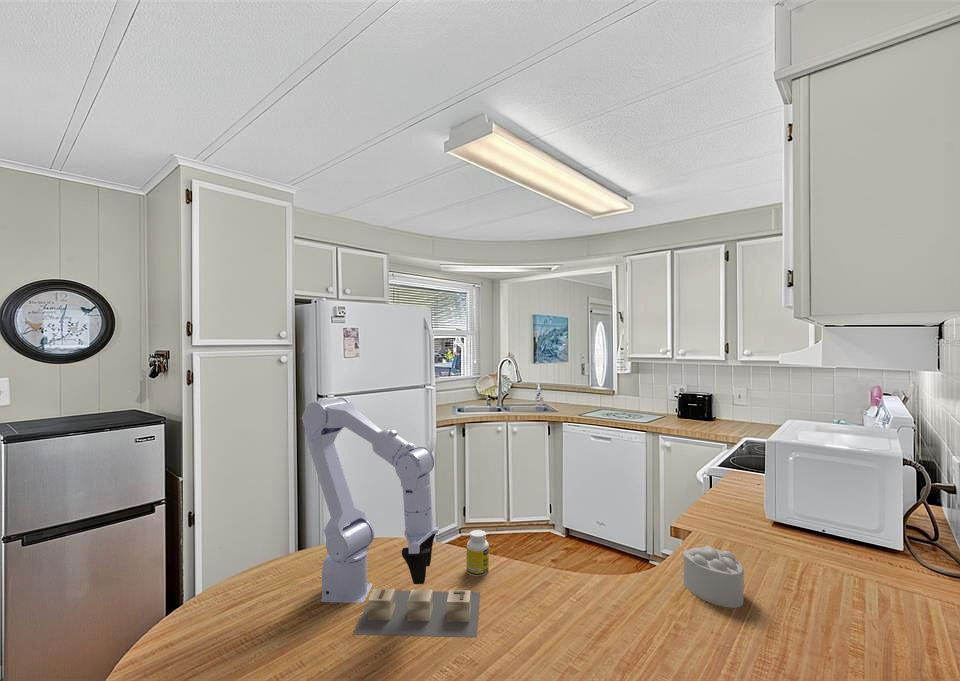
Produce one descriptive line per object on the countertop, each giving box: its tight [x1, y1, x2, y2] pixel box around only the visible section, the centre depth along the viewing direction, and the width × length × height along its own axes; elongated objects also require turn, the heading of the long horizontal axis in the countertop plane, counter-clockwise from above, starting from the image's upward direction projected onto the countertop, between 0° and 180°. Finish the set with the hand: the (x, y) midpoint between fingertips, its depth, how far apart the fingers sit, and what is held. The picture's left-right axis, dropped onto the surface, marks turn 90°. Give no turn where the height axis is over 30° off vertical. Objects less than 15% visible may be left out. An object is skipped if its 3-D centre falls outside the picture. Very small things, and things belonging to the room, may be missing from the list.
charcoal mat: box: [352, 590, 481, 638], centre depth 100 cm, size 24×16×1 cm, turn 88°
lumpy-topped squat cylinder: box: [682, 545, 745, 609], centre depth 109 cm, size 10×13×9 cm
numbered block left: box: [367, 588, 396, 620], centre depth 100 cm, size 4×4×4 cm
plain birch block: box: [407, 588, 434, 621], centre depth 99 cm, size 4×4×4 cm
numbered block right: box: [447, 589, 472, 622], centre depth 99 cm, size 4×4×4 cm
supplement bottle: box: [466, 529, 490, 577], centre depth 118 cm, size 5×5×10 cm
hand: (422, 574), depth 100 cm, fingers open, 7 cm apart
